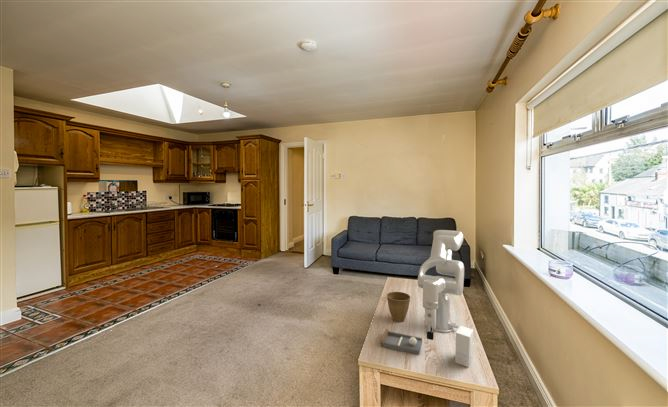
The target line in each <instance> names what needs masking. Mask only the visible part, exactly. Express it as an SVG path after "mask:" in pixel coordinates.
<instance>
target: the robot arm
mask: <svg viewBox="0 0 668 407" xmlns="http://www.w3.org/2000/svg"><path fill="white" fill-rule="evenodd" d="M432 234H433V235H432V236H433V239H432V246H431V251H430V256H429V258H428V259H427V260H425V261H423V263H422V264H421V265H420V268H419V270H418V276H417V286H418V287H419V288H420V289H422V308H424V327H425V328H426V339H427V340H431V341H434V337H435V336H434V332H435V331H436V332H438V333H443V334H444V333H450V332H452V331H453V330H454V329H458V328H459V325H458V324H457V323H456V322H452V320H451V300H450V297H449V296H448V295H453V296H461V295H462V294H463V291H464V285H465V284H464V283H465V282H464V281H465V265H464V263H463V262H462V261H461V260H455V259H453V258H452V257H453V251H455V252H457V251H459V250H460V248H461V246H462V244H463V242H464V234H463V233H462V231H459V230H449V229H437V230H434V231H433V233H432ZM434 267H435V271H436V273H438V274H440V275H435V276H434V275H429V274H426V272H427V271H428V270H429V269H431V268H434ZM444 275H445V276H444Z"/></svg>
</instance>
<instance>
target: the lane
mask: <svg viewBox="0 0 668 407" xmlns="http://www.w3.org/2000/svg"><path fill="white" fill-rule="evenodd" d="M411 337H414V338H416V340H417V343H416V345H411V344H410V343H409V339H410V338H411ZM422 344H423V337H418V336H414V335H409V334H405V333H400V332H396V331H395V332H394V331H391V330H390V331H389V328H386V329H385V331H384V333H383V334H382V337H381V339H380V347H382V348H387V349H391V350H397V351H399V352H404V353H409V354H413V355H417V356H420V352H421V348H422Z"/></svg>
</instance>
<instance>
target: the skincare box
mask: <svg viewBox="0 0 668 407" xmlns="http://www.w3.org/2000/svg"><path fill="white" fill-rule="evenodd" d="M473 347H474V329H473V328H469V327H466V326H462V325H459V326H458V328H457V330H456V331H455V351H454V352H455V356H454V358H455V364H459V365H461V366H464V367H466V368H470V366H471V364H472V362H473V358H474V357H473V351H474V350H473Z"/></svg>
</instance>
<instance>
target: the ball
mask: <svg viewBox="0 0 668 407" xmlns="http://www.w3.org/2000/svg"><path fill="white" fill-rule="evenodd" d="M409 343H410V344H411V345H416V343H417V340H416V338H414V337H411V338H410V339H409Z"/></svg>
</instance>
